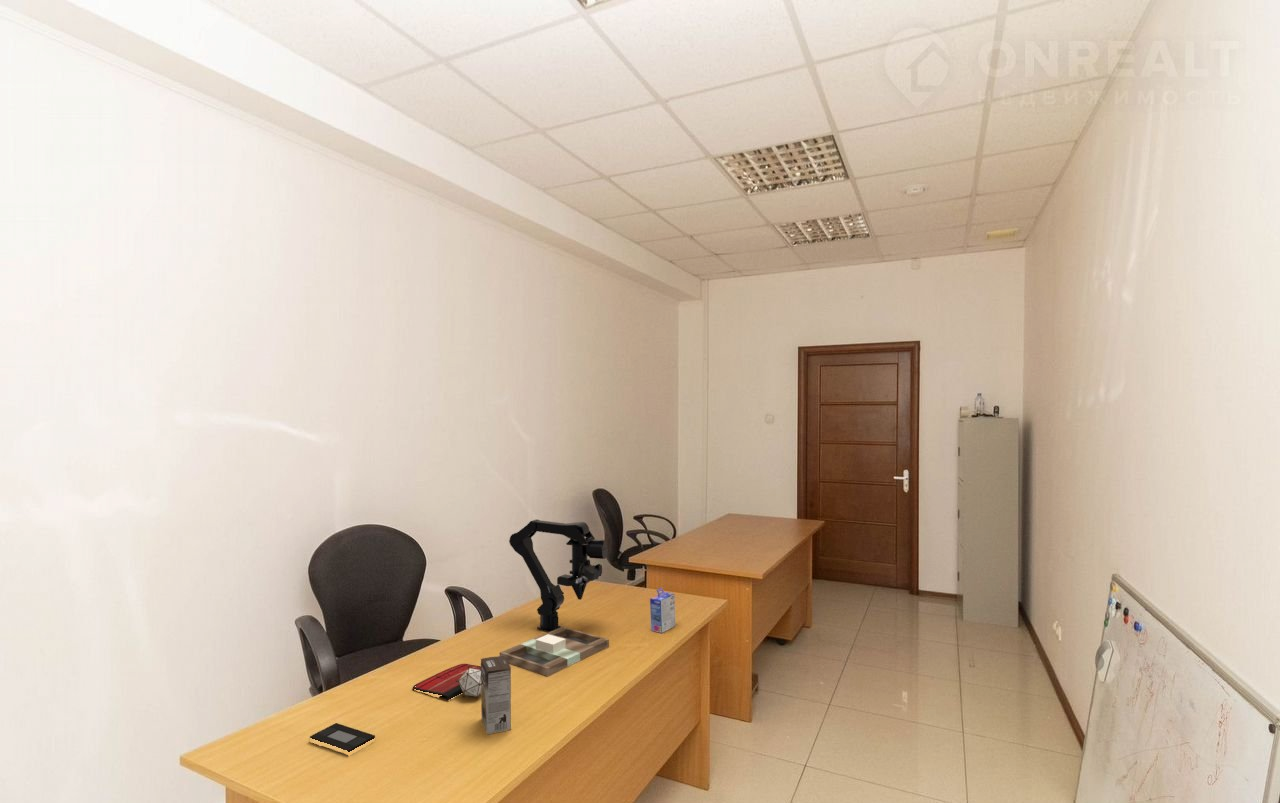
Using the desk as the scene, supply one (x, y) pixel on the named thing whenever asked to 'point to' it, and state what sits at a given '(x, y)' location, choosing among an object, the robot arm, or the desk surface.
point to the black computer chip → (343, 737)
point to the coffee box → (496, 694)
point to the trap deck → (548, 663)
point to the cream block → (550, 643)
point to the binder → (445, 681)
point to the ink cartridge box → (662, 611)
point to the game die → (471, 682)
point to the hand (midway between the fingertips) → (579, 599)
